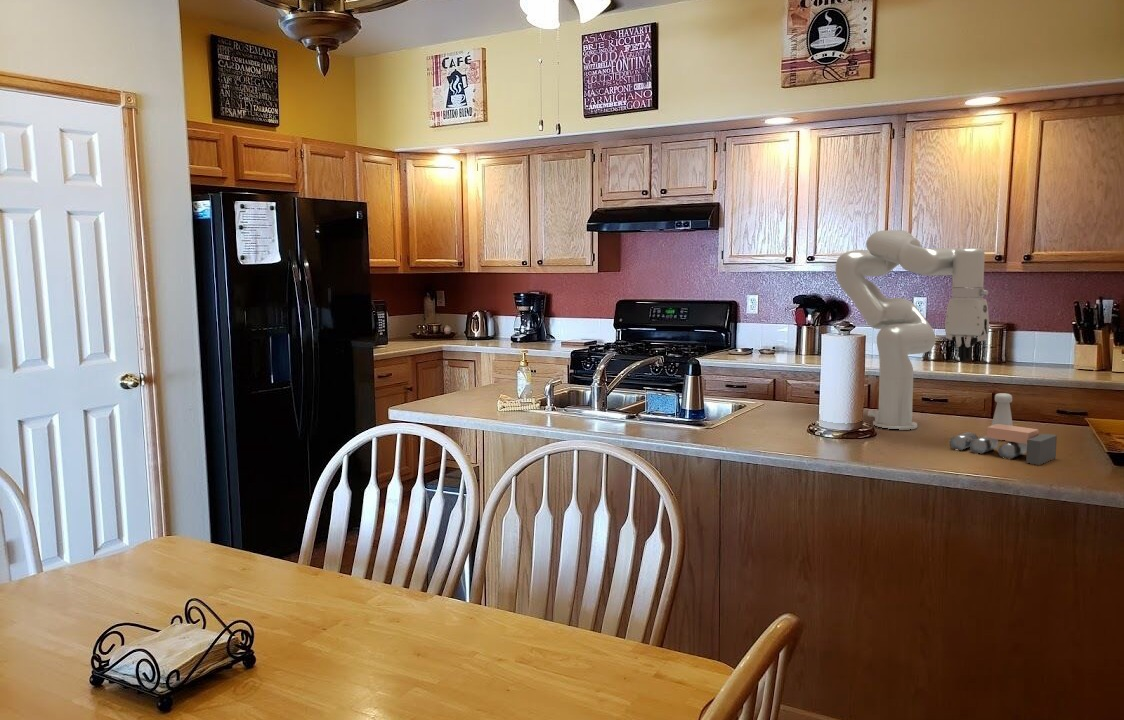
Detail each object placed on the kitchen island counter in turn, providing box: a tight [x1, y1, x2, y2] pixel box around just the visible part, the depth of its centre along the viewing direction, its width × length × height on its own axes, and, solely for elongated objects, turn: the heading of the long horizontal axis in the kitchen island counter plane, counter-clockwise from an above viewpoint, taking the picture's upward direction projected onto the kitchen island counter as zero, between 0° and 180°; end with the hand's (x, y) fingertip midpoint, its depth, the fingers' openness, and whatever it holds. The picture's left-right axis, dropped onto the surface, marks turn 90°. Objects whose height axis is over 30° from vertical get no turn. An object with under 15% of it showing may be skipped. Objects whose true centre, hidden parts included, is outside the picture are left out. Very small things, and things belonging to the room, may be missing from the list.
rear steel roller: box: [949, 431, 979, 451], centre depth 211 cm, size 4×8×4 cm, turn 128°
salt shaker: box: [990, 392, 1014, 441], centre depth 220 cm, size 6×6×13 cm
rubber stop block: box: [1025, 433, 1058, 466], centre depth 196 cm, size 3×10×6 cm, turn 128°
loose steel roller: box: [997, 441, 1027, 460], centre depth 201 cm, size 4×8×4 cm, turn 129°
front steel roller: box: [969, 435, 999, 455], centre depth 207 cm, size 4×8×4 cm, turn 128°
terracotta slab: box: [986, 424, 1040, 444], centre depth 201 cm, size 10×6×3 cm, turn 38°
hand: (964, 360), depth 214 cm, fingers closed
